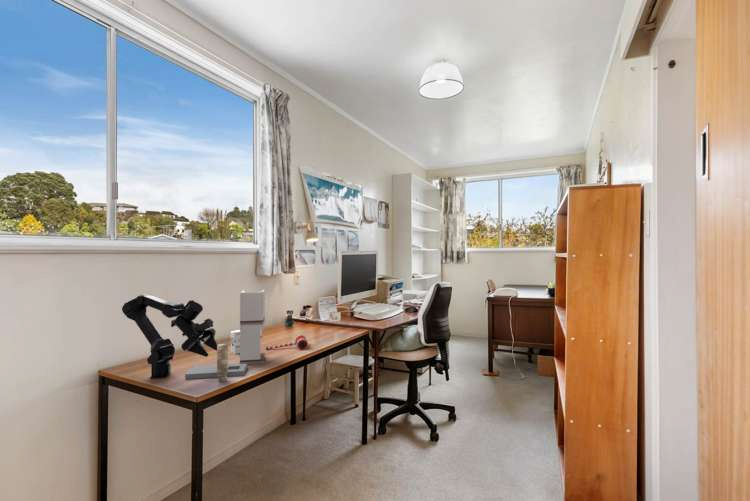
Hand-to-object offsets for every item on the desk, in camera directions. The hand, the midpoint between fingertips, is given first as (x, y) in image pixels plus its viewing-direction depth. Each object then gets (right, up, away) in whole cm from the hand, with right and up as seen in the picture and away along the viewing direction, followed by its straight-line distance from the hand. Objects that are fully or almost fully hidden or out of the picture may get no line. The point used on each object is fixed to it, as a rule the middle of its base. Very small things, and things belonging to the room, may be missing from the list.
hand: (213, 352), depth 158 cm
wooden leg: (+4, -12, 0) cm, 12 cm away
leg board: (-2, -12, +9) cm, 15 cm away
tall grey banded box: (+8, -12, +28) cm, 31 cm away
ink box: (-5, -12, +44) cm, 46 cm away
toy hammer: (+22, -12, +52) cm, 58 cm away
